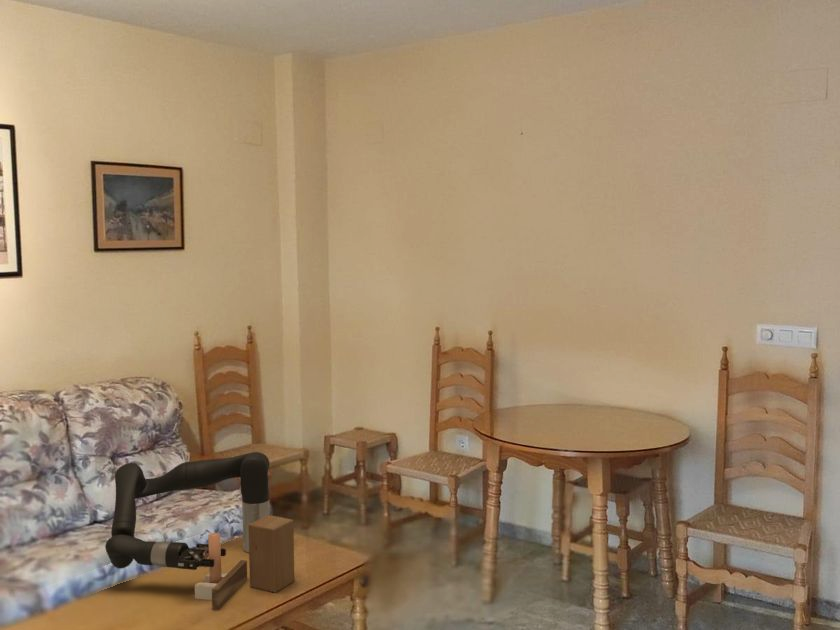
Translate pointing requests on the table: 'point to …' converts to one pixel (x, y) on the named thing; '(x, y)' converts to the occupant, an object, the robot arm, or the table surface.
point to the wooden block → (271, 553)
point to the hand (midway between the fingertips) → (219, 557)
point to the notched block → (205, 588)
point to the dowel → (215, 557)
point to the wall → (229, 585)
